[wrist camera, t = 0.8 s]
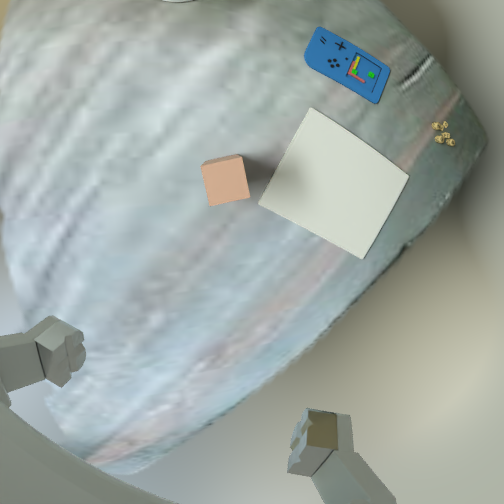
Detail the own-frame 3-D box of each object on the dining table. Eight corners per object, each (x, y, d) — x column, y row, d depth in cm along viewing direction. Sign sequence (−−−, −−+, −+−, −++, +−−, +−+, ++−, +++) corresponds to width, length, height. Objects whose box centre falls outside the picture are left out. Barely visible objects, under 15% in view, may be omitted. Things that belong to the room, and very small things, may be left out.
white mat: (310, 108, 44) (311, 107, 43) (406, 175, 49) (409, 176, 49) (257, 203, 49) (258, 204, 48) (360, 258, 54) (362, 259, 53)
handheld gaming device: (318, 24, 38) (392, 68, 42) (316, 27, 39) (389, 69, 43) (301, 61, 41) (377, 104, 44) (299, 63, 42) (374, 105, 45)
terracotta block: (205, 161, 46) (200, 166, 34) (237, 154, 46) (242, 157, 35) (212, 191, 47) (209, 206, 36) (243, 184, 48) (250, 197, 36)
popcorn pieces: (449, 145, 49) (455, 146, 47) (432, 146, 48) (438, 147, 47) (446, 121, 47) (452, 121, 45) (429, 121, 47) (435, 121, 45)
